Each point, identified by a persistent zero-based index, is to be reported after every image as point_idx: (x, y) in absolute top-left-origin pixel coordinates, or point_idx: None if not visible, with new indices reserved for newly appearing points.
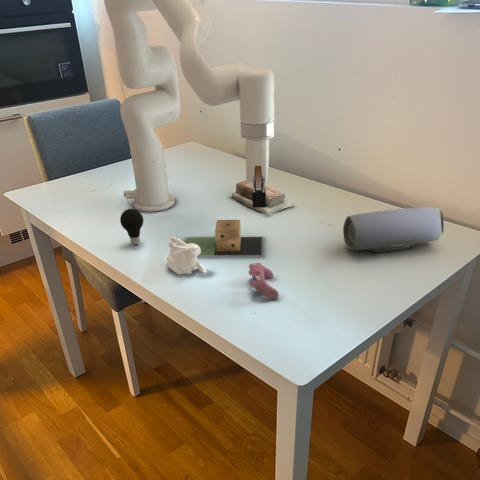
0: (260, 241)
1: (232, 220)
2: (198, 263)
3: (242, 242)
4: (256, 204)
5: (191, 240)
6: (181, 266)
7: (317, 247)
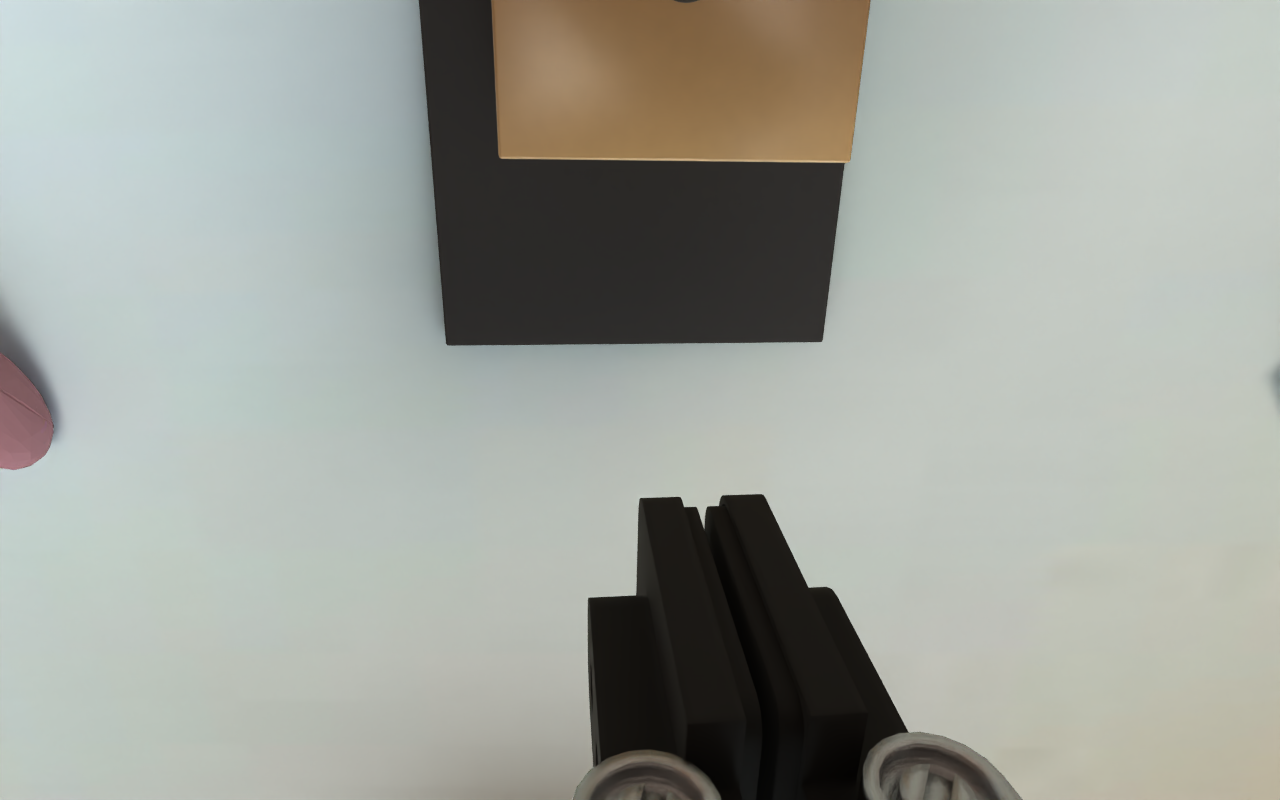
0: (726, 332)
1: (836, 36)
2: None
3: None
4: (591, 603)
5: None
6: None
7: None
